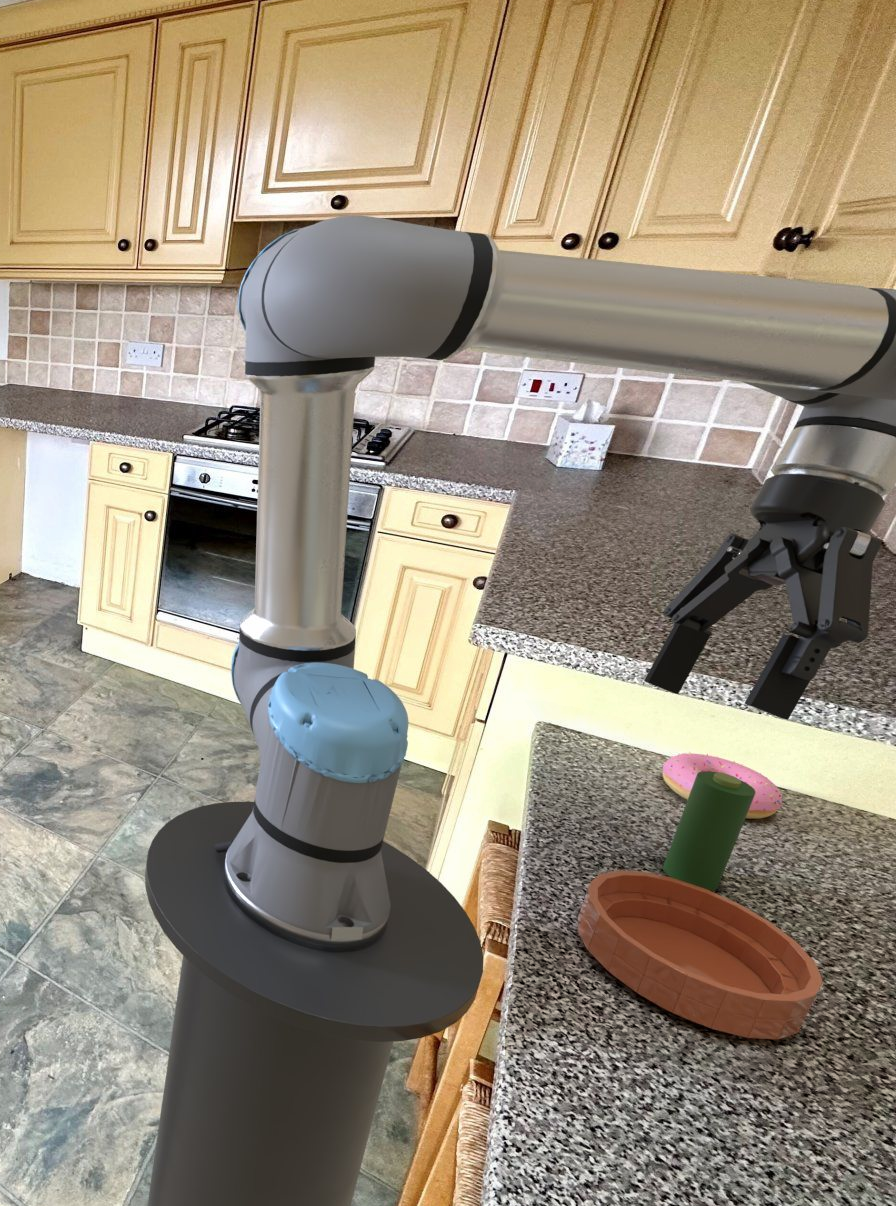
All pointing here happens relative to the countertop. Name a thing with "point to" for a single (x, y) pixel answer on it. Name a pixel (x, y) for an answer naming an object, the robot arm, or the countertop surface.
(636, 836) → the countertop surface
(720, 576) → the robot arm
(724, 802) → the battery
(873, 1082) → the countertop surface
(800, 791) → the countertop surface
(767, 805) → the doughnut
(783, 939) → the bowl
